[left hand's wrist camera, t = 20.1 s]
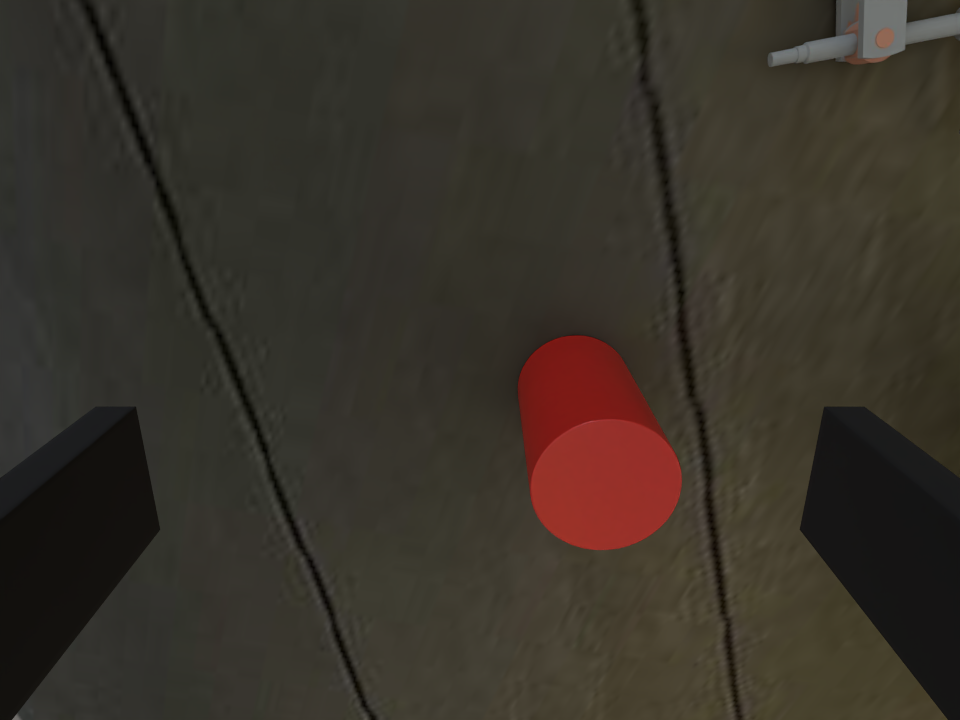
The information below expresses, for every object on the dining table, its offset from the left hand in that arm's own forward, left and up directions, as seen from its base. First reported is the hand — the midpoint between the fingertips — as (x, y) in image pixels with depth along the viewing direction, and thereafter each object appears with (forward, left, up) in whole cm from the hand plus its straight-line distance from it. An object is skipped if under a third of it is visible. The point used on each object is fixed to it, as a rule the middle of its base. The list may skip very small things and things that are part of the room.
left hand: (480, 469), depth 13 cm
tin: (-2, +8, -19) cm, 20 cm away
